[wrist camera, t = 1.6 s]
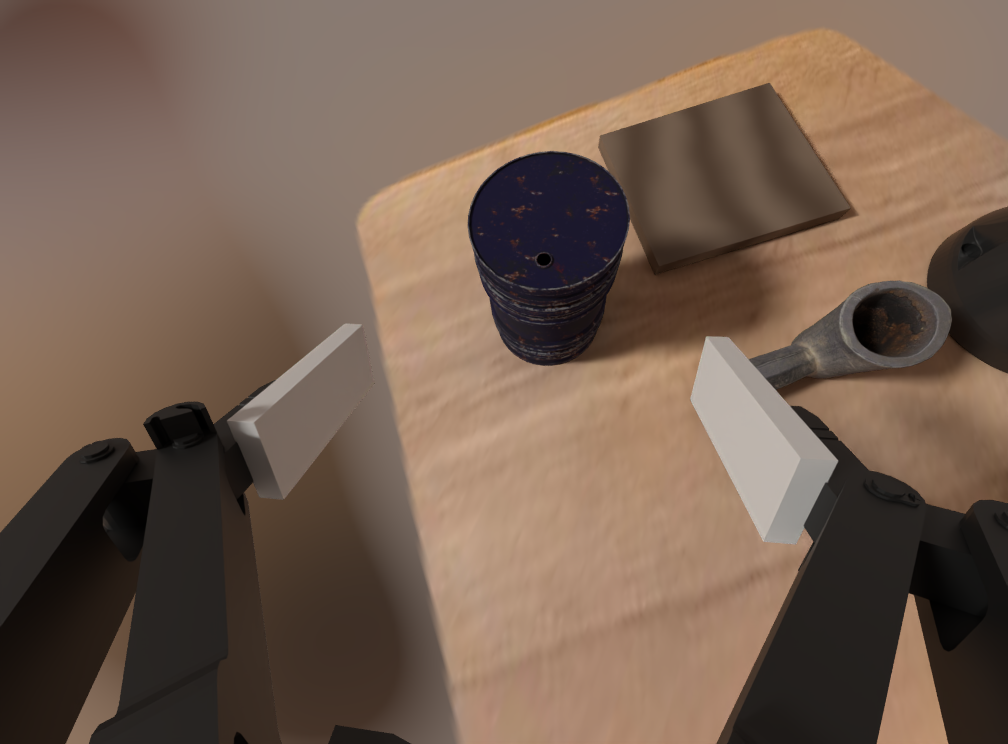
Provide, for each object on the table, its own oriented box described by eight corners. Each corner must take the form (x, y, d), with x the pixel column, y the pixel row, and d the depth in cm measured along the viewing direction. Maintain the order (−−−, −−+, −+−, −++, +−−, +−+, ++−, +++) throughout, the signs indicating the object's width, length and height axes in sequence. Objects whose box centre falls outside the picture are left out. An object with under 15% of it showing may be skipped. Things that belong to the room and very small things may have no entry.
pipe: (706, 363, 36) (749, 329, 28) (840, 311, 36) (920, 263, 28) (741, 427, 34) (798, 410, 26) (883, 372, 34) (980, 339, 26)
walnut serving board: (762, 96, 43) (769, 82, 41) (839, 218, 38) (850, 208, 36) (598, 147, 43) (600, 135, 42) (654, 274, 38) (659, 266, 37)
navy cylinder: (501, 269, 40) (475, 149, 26) (601, 272, 39) (632, 148, 25) (491, 364, 38) (456, 289, 23) (598, 370, 36) (630, 296, 22)
